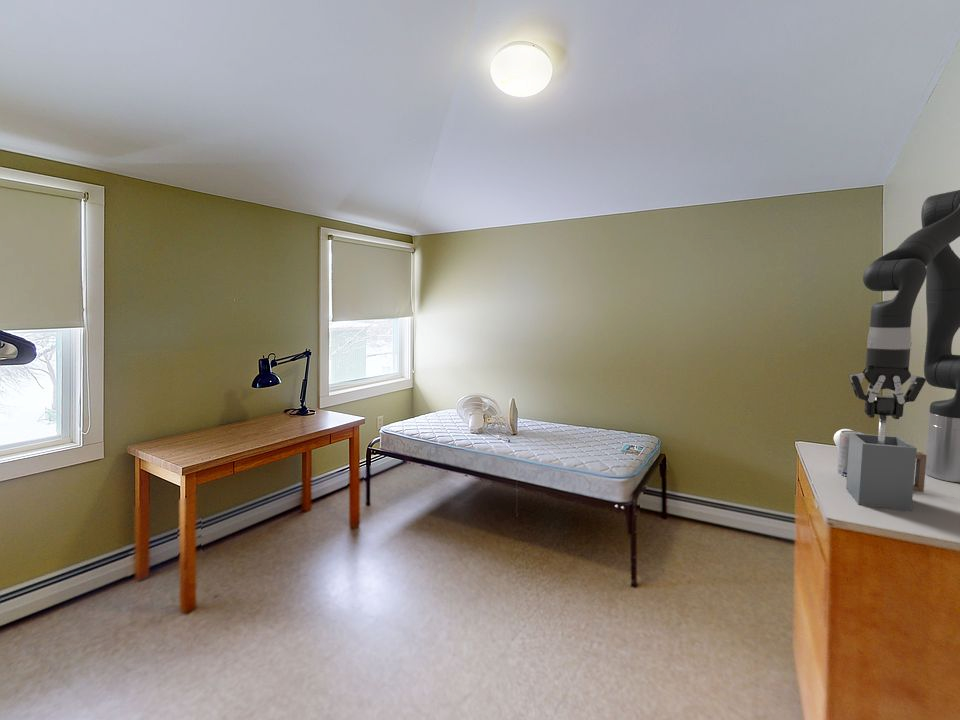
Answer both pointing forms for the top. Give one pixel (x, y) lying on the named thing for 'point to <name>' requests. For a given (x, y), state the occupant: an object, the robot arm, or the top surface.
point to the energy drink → (844, 451)
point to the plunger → (884, 413)
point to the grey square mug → (884, 471)
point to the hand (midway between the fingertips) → (882, 417)
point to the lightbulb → (837, 436)
